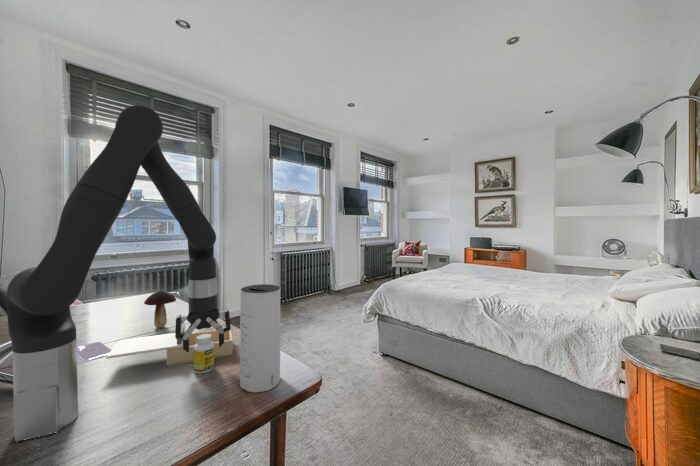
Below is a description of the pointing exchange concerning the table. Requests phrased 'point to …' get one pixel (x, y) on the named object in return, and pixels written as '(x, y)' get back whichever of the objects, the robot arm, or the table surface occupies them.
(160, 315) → the decorative mushroom
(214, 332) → the light wooden open box
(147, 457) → the table surface
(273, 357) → the speaker
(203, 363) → the supplement bottle
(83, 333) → the table surface
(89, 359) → the mobile phone
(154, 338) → the mailer lid
